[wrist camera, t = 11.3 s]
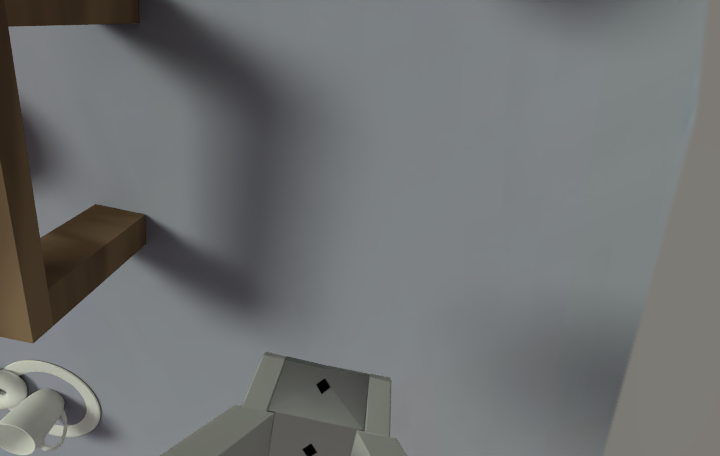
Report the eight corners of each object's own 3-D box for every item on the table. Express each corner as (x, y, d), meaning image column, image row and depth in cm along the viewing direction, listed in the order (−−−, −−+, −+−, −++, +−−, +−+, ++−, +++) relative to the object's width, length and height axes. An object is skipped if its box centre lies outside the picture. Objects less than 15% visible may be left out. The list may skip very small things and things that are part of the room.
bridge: (98, 233, 27) (-37, 329, 19) (75, -37, 21) (-143, -72, 12) (145, 243, 27) (33, 343, 19) (137, -23, 21) (-38, -50, 12)
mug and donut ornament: (-26, 373, 34) (-78, 416, 30) (36, 332, 32) (-12, 373, 28) (61, 443, 37) (24, 490, 33) (124, 410, 34) (91, 457, 31)
